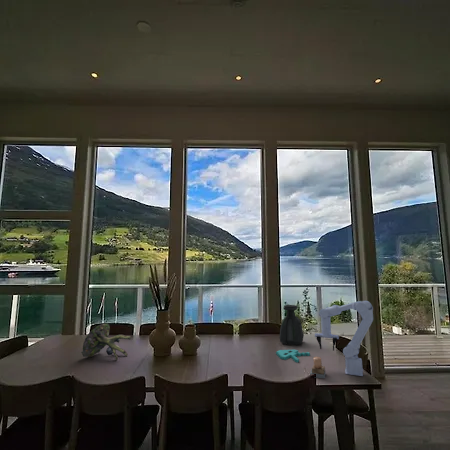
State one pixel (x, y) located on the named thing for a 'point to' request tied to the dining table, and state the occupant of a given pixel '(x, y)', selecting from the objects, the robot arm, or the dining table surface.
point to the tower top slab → (318, 370)
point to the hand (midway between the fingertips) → (327, 349)
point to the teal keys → (291, 354)
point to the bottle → (291, 327)
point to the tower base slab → (318, 375)
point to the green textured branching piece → (102, 342)
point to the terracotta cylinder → (317, 362)
